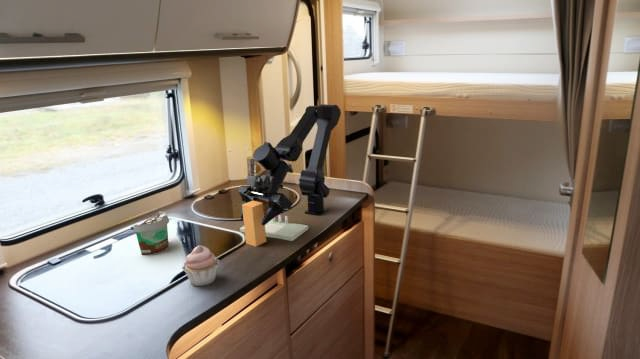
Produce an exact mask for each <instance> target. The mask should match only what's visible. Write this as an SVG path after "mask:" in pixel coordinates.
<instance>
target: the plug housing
mask: <svg viewBox="0 0 640 359" xmlns="http://www.w3.org/2000/svg"><path fill="white" fill-rule="evenodd" d="M241 209H242V210H243V219H242V220H243V226H244V229H245V232H244V238H245V244H247V245H250V246H253V247H258V246H260V245H262V244H264V243H267V236H266V232H265V225H264V226H263V225H262V224H261V223H262V220H263V218H264V216H265V212H264V203H263V202H261V201H258V200H257V201H250V202H248V203H245V204H243V205H242V204H241Z"/></svg>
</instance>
